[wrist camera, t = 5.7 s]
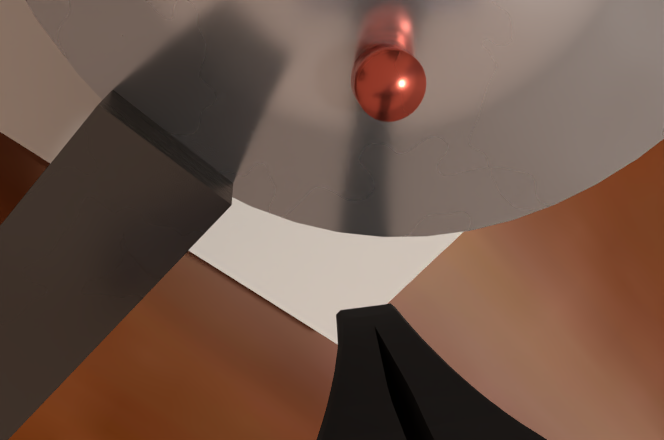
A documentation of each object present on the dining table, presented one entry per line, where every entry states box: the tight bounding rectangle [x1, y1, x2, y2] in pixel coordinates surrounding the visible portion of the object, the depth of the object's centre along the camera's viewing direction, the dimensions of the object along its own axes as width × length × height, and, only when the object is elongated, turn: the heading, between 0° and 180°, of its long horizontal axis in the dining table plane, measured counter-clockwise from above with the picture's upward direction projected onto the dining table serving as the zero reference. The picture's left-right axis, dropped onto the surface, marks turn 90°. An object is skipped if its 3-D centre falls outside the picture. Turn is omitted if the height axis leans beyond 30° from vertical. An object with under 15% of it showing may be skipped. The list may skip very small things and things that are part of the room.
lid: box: [0, 0, 664, 440], centre depth 8 cm, size 22×14×2 cm, turn 135°
